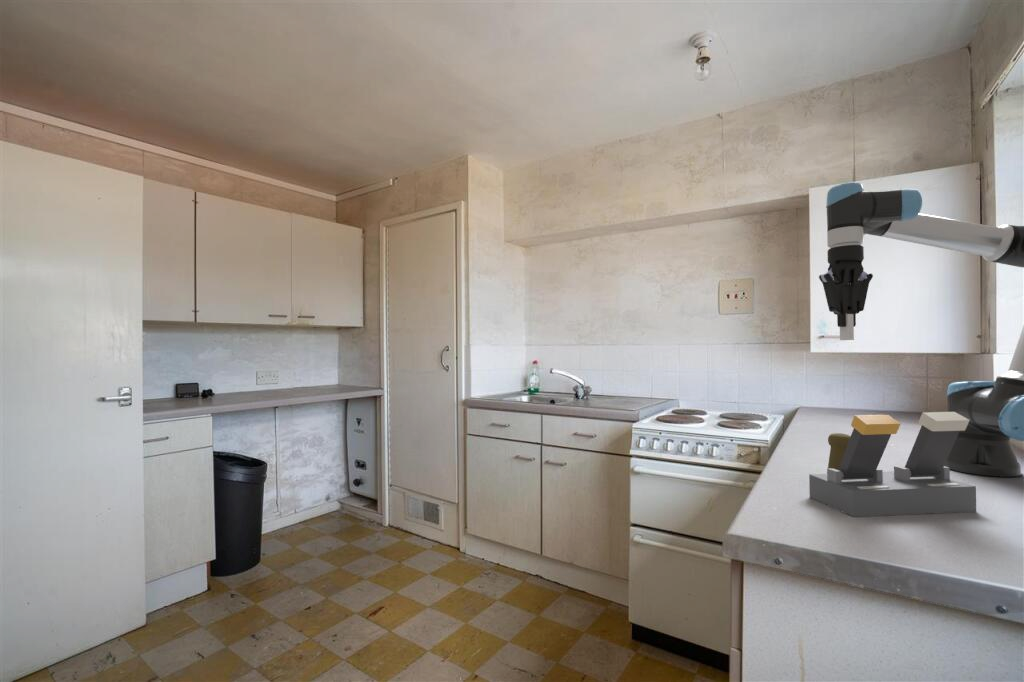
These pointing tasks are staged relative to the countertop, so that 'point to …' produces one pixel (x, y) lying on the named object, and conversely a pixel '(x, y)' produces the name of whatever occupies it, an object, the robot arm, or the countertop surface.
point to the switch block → (893, 493)
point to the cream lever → (934, 442)
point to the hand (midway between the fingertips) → (846, 339)
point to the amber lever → (866, 445)
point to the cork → (837, 449)
